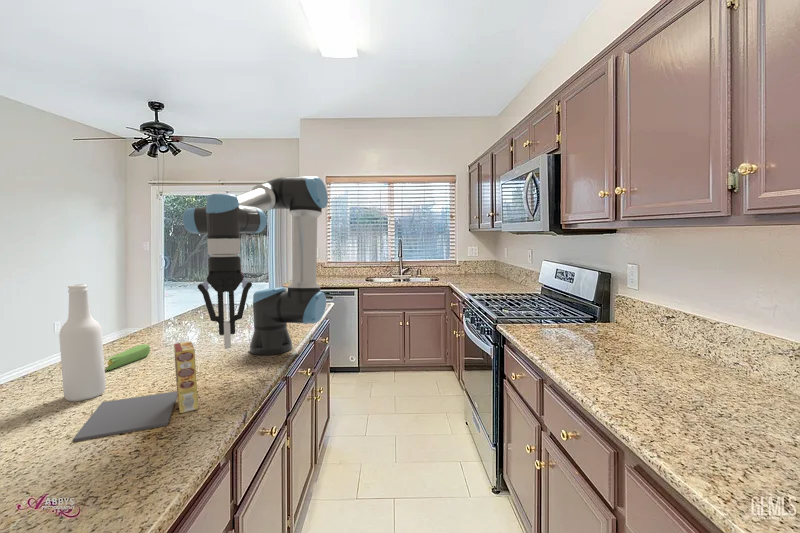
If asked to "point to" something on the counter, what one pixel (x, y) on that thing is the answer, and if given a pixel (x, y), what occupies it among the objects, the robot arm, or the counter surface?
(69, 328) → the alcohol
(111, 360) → the edible corn
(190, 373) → the candy box
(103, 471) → the counter surface
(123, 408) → the rubber mat
